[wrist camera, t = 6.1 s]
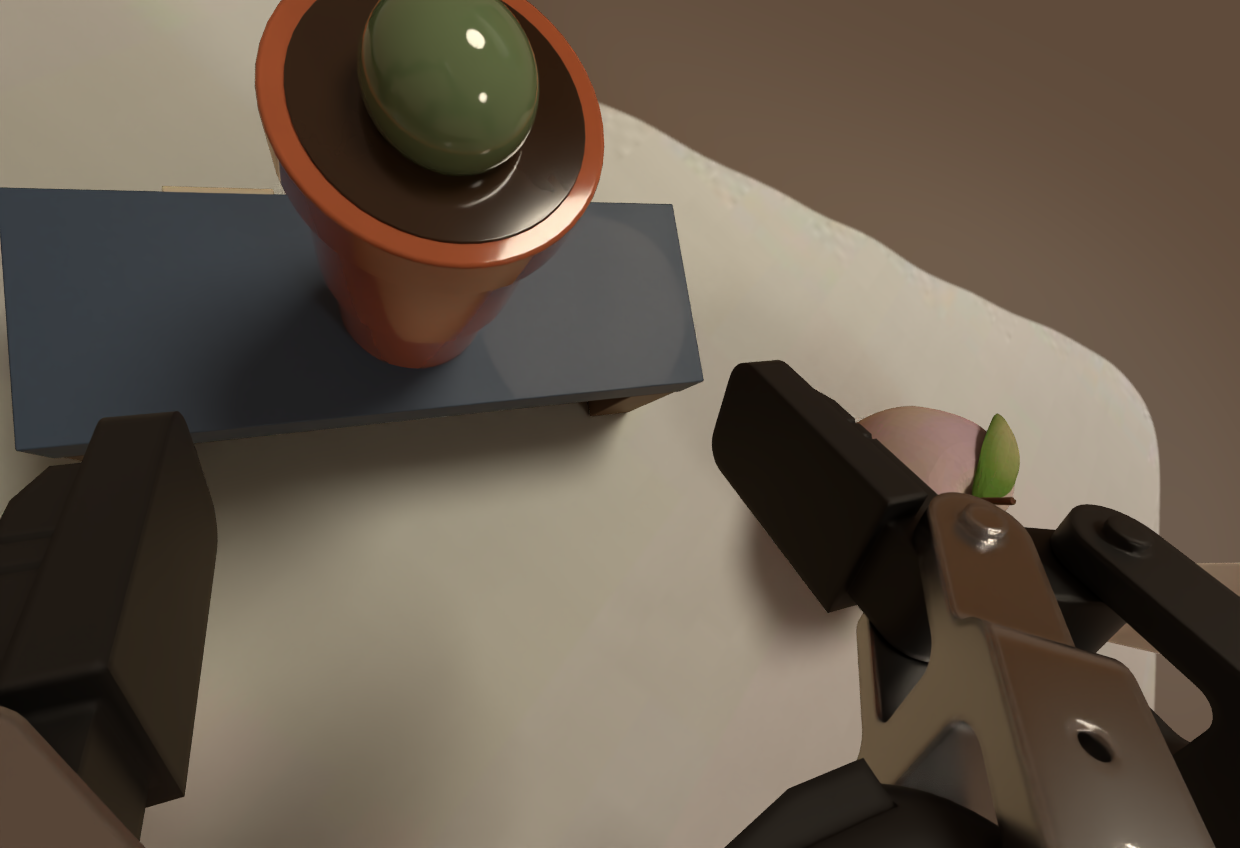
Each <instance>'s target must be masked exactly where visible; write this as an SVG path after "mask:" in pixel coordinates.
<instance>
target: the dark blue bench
mask: <svg viewBox="0 0 1240 848" xmlns="http://www.w3.org/2000/svg"><path fill="white" fill-rule="evenodd" d="M162 191H163V192H157V191H117V190H76V189H36V188H0V239H1V253H2V267H3V281H4V295H5V309H6V323H7V337H8V351H9V365H10V379H11V393H12V407H13V421H14V435H15V449H16V451H21V452H26V453H31V454H36V455H41V456H46V457H51V458H61V457H64V458H69V459H74V460H79V461H82V460H83V457H84V455H85V452H86V450H87V447H88V445H89V442H90V440H91V437H92V435H93V432H94V430H95V427H96V425H97V423H98V421H99V420H100V419H102V418H104V417H116V416H127V415H139V414H150V413H162V412H173V411H178V412H180V413H181V414H182V416H183V417H184V419H185V421H186V423H187V426H188V429H189V432H190V435H191V438H192V441H193V443H202V442H211V441H220V440H230V439H239V438H248V437H258V436H267V435H276V434H286V433H295V432H304V431H314V430H323V429H332V428H342V427H351V426H360V425H370V424H379V423H388V422H398V421H407V420H416V419H426V418H435V417H445V416H454V415H463V414H473V413H482V412H491V411H501V410H510V409H519V408H529V407H538V406H547V405H557V404H566V403H575V402H585V401H588V406H589V412H590V416H600V415H609V414H617V413H626V412H630V411H632V410H634V409H637V408H639V407H641V406H643V405H646V404H648V403H650V402H653V401H655V400H657V399H659V398H662V397H664V396H666V395H669V394H671V393H673V392H678V391H681V390H684V389H686V388H688V387H691V386H693V385H695V384H698V383H700V382H702V381H703V380H704V379H703V374H702V368H701V363H700V357H699V351H698V346H697V340H696V334H695V329H694V323H693V318H692V312H691V306H690V301H689V295H688V290H687V284H686V278H685V273H684V267H683V262H682V256H681V250H680V245H679V239H678V234H677V228H676V222H675V217H674V211H673V206H672V204H640V203H600V202H590V204H589V206H588V207H587V209H586V211H585V213H584V214H583V216H582V217H581V219H580V220H579V222H578V223H577V225H576V226H575V228H574V229H573V231H572V232H571V234H570V235H569V237H568V238H567V239H566V241H565V242H564V244H563V245H562V246H561V247H560V249H559V250H558V251H557V252H556V254H555V255H554V256H553V257H552V258H551V259H550V260H548V261H547V262H546V263H545V264H544V265H543V266H542V267H540V268H539V269H538V270H536V271H535V272H533V273H532V274H530V275H529V276H527V277H525V278H523V279H521V280H520V282H519V284H518V285H517V287H516V289H515V290H514V292H513V294H512V295H511V297H510V299H509V300H508V302H507V304H506V305H505V307H504V308H503V309H502V311H501V312H500V313H499V314H498V315H497V316H496V317H495V318H494V319H493V320H492V321H491V322H490V323H489V324H487V325H486V326H484V327H483V328H482V329H480V330H479V331H478V333H477V335H476V337H475V338H474V340H473V341H472V343H471V344H470V345H469V346H468V348H466V349H465V350H464V351H463V352H462V353H461V354H460V355H458V356H457V357H455V358H454V359H452V360H450V361H448V362H446V363H443V364H440V365H437V366H433V367H428V368H406V367H399V366H396V365H392V364H389V363H387V362H384V361H382V360H380V359H378V358H376V357H374V356H372V355H371V354H370V353H368V352H367V351H365V350H364V349H363V348H362V347H361V346H360V345H359V344H358V343H357V342H356V341H355V340H354V339H353V338H352V336H351V335H350V334H349V332H348V330H347V329H346V327H345V325H344V323H343V321H342V319H341V315H340V312H339V308H338V302H337V299H336V298H335V296H334V295H333V294H332V292H331V291H330V289H329V287H328V286H327V284H326V282H325V280H324V278H323V276H322V274H321V272H320V268H319V265H318V262H317V258H316V254H315V249H314V245H313V240H312V236H311V231H310V227H309V226H308V225H307V224H306V222H305V221H304V220H303V219H302V217H301V216H300V215H299V214H298V212H297V211H296V209H295V208H294V206H293V205H292V203H291V201H290V200H289V198H288V197H287V195H278V194H274V191H273V189H244V188H208V187H171V186H162Z"/></svg>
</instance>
